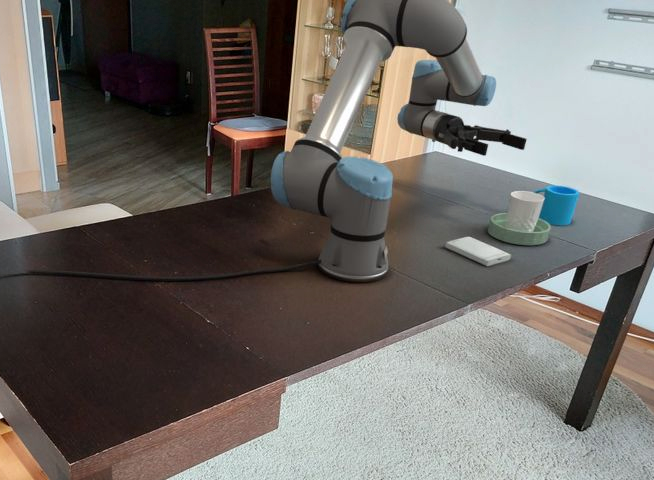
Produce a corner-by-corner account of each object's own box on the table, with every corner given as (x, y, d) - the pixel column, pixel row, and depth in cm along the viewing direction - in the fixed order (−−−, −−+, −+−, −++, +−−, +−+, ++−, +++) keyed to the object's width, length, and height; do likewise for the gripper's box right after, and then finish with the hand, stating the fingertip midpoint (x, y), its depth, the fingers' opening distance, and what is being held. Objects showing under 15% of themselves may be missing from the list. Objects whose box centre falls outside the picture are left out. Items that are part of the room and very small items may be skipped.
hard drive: (446, 241, 162) (488, 260, 152) (469, 235, 165) (511, 253, 156) (444, 248, 162) (486, 266, 153) (468, 242, 166) (510, 260, 157)
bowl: (498, 245, 165) (501, 231, 163) (480, 224, 177) (483, 211, 175) (556, 247, 165) (560, 233, 163) (534, 226, 177) (538, 213, 175)
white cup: (495, 234, 170) (505, 195, 165) (508, 226, 175) (518, 188, 170) (526, 242, 166) (537, 203, 161) (538, 234, 171) (549, 196, 166)
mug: (575, 220, 182) (584, 190, 178) (563, 227, 177) (572, 197, 173) (531, 209, 189) (538, 180, 185) (519, 215, 184) (526, 186, 179)
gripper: (474, 137, 191) (535, 156, 175) (406, 146, 180) (466, 168, 165) (479, 110, 187) (543, 127, 171) (411, 117, 176) (472, 136, 161)
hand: (505, 147), depth 168 cm, fingers open, 13 cm apart
